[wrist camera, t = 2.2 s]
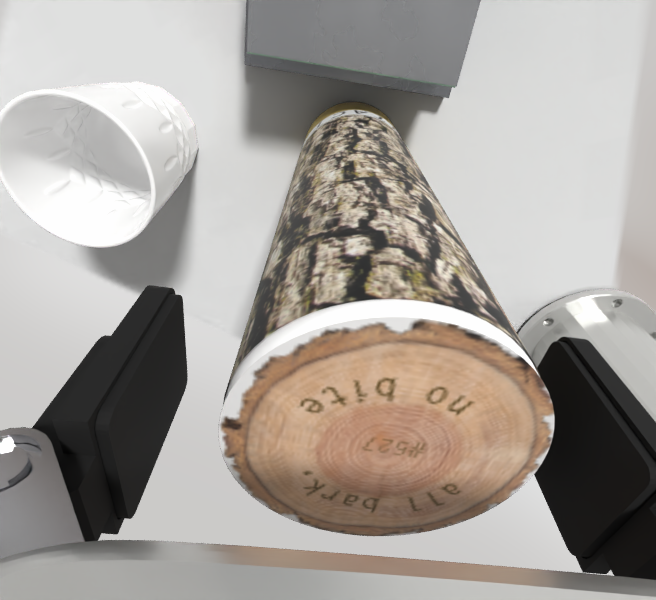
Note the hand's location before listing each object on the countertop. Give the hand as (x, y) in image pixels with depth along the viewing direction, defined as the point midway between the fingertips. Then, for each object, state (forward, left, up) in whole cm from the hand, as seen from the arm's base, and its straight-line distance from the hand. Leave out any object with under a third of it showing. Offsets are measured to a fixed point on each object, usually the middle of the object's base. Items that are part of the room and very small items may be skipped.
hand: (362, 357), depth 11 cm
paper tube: (0, 0, -23) cm, 23 cm away
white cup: (-1, +14, -23) cm, 27 cm away
